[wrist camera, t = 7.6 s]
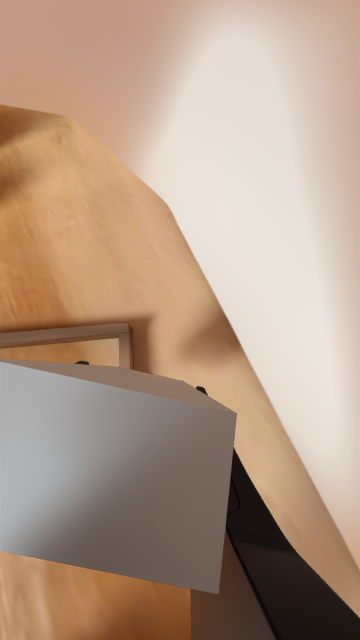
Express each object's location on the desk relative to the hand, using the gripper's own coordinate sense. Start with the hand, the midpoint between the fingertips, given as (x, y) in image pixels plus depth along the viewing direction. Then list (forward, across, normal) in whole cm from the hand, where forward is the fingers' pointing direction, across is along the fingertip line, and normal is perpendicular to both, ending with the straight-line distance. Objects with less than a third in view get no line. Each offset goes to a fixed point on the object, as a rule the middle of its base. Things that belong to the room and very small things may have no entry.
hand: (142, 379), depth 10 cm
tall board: (+4, 0, +6) cm, 7 cm away
